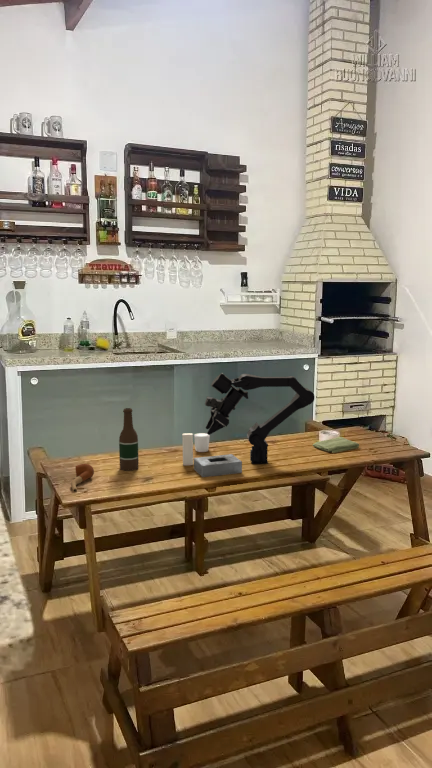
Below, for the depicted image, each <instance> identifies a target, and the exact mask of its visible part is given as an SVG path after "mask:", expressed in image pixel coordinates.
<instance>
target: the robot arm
mask: <svg viewBox="0 0 432 768" xmlns="http://www.w3.org/2000/svg"><path fill="white" fill-rule="evenodd" d="M210 387H211V388H213V389H215V390H216V391H217V392H218V393H220V394H221V395H223V394H224V395H225V394H226V395H225V396H224V397H222V398H220V399H218V398H216V397H212V396H206V399H205V401H204V405H205V406H206V407H210V416H209V419H208V421H207V424H206V426H205V429H206V430H208V431H207V432H206V433H207V434H208V435H210V436H211V434H214V433H215V432H218V431H219V430H221V429H224V428H226V427H228V425H229V424H230V419H229V418H230V414H231V413H232V412H233V411H235V410H236V407H237V406H238V404H239V403H240V402H241V400H242V399H243V397H244V398H245V399H247V400H248V399H249V392H248V391H250V390H255V389H259V388H265V387H266V388H267V387H268V388H276V387H277V388H279V387H280V388H282V387H285V388H286V387H287V388H289V387H290V388H291V389H292V390H293V391H294V392H295V394H294V396H293V397H292V398H291V400H290V401H289V402H288V403H287V404H286V405H284V406H283V407H281V409H279V410H278V411H277V412H276V413H274V414H273V415H272V416H271V417H269V418H268V419H266V421H264V422H262V423H260V424H259V423H258V422H255V423H254V424H253V426H250V427H248V431H247V432H246V438H247V440H248V442H249V444H251V449H250V450H249V453H250V454H249V457H250V458H249V460H250V462H251V464H253V465H263V464H264V465H265V464H266V465H268V464H269V461H268V448H269V444H268V442H267V440H266V439H267V438H268V435H269V434H270V433H271V431H273V430H274V429H276V428H277V427H278V426H279V425H280V424H282V423H283V422H285V420H287V419H288V418H289V417H290V416H292V415H293V414H294V413H296V411H298V410H302V409H304V408H306V407H307V406H310V405H311V404H313V402H314V401H315V394H314V393H313V391H312V390H311V389H309V388H307V387H304V385H302V384H301V383H300V382H299V381H298V379H297V378H296V377H295V376H293V375H289V376H259V375H255V374H251V373H250V374H249V373H242V374H240V375H239V376H238V377H236V378H232V379H230V378H229V377H228V376H226V375H225V374H224V373H223V372H221V373H219V374H218V375H217V376H216V377H215V378H213V380H212V382H211V383H210Z"/></svg>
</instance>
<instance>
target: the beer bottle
mask: <svg viewBox="0 0 432 768" xmlns="http://www.w3.org/2000/svg"><path fill="white" fill-rule="evenodd" d="M122 413H123V426H122V430H121V432H120V434H119V439H118V445H119V447H118V448H119V452H118V453H119V454H118V455H119V468H120V470H121V471H124V472H125V471H135V470H138V469H139V464H140V463H139V460H140V459H139V438H138V433H137V431H136V430H135V428H134V424H133V408H131V407H129V408H128V407H125V408H123V411H122Z"/></svg>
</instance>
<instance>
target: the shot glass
mask: <svg viewBox="0 0 432 768" xmlns="http://www.w3.org/2000/svg"><path fill="white" fill-rule="evenodd" d="M210 436H211V434H210V435H208V434H207V432H198V433H193V441H194V448H195V451H196V452H199V453H205V452H208V451H209V448H210V446H209V445H210Z"/></svg>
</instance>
